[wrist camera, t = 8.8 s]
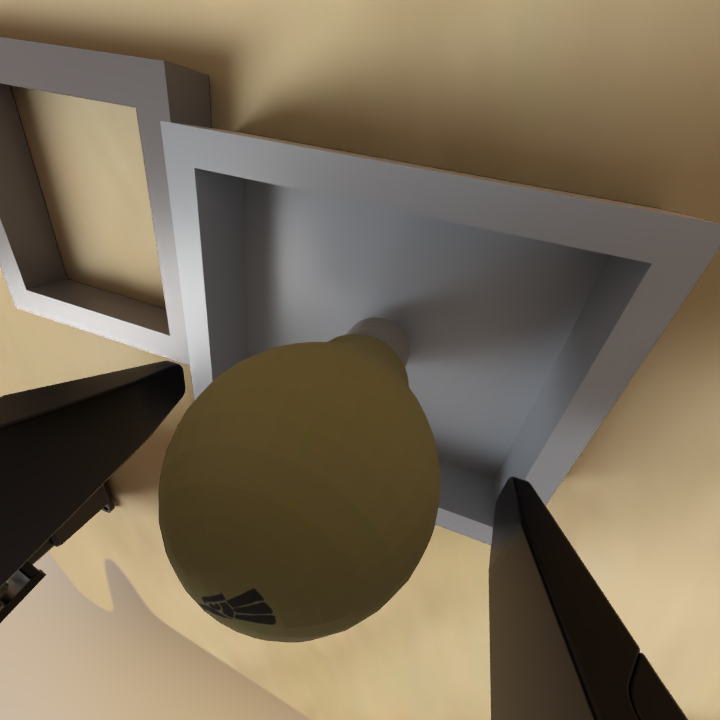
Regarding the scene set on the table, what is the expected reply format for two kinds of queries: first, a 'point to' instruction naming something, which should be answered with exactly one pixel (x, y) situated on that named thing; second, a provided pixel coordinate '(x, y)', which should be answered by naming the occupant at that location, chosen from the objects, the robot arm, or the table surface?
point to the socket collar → (26, 204)
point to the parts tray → (432, 291)
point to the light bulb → (302, 486)
